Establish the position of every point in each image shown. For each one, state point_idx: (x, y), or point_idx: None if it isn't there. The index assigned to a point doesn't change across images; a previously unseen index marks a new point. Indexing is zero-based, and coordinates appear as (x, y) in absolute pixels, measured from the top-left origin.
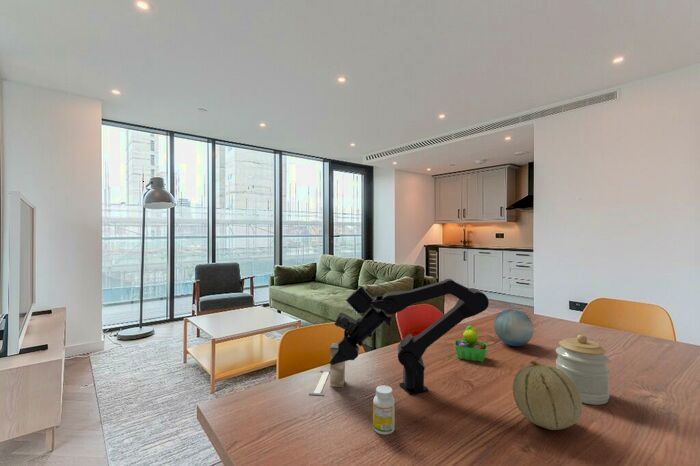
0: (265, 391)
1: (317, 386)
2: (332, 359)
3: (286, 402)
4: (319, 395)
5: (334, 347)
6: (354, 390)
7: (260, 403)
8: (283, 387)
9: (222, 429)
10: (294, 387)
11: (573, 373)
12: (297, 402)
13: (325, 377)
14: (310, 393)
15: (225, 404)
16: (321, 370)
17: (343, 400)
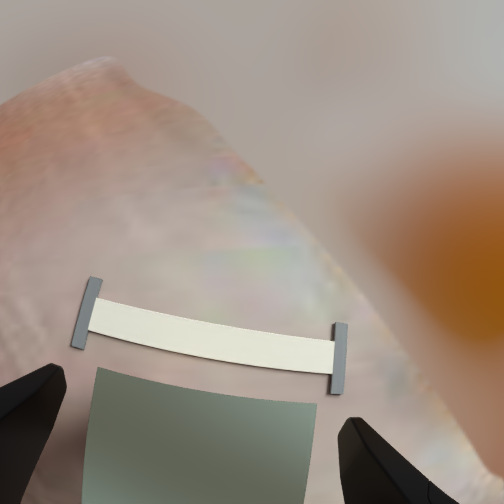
0: (156, 128)
1: (158, 317)
2: (17, 384)
3: (60, 198)
4: (77, 326)
5: (95, 435)
6: None
7: (83, 131)
8: (176, 174)
9: (16, 101)
10: (169, 213)
11: None
12: (48, 235)
13: (264, 357)
14: (93, 283)
15: (111, 73)
16: (346, 328)
17: None
